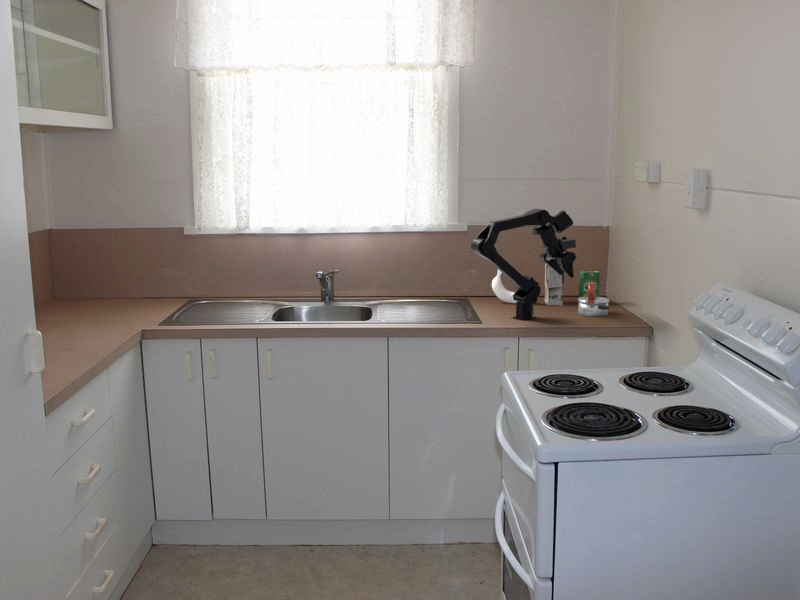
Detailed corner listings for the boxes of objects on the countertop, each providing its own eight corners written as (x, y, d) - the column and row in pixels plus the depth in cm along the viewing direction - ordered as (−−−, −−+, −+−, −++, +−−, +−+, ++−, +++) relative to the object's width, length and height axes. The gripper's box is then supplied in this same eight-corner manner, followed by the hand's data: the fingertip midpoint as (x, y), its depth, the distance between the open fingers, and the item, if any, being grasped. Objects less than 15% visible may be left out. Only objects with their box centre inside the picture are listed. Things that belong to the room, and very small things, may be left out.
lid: (579, 297, 317) (580, 276, 315) (610, 299, 313) (611, 278, 312) (574, 304, 303) (575, 283, 301) (606, 306, 299) (607, 284, 297)
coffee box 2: (595, 302, 333) (596, 270, 331) (599, 303, 331) (600, 271, 328) (578, 303, 331) (579, 271, 328) (581, 304, 328) (583, 272, 326)
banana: (538, 305, 328) (539, 269, 325) (491, 304, 330) (492, 268, 327) (538, 302, 332) (539, 267, 330) (491, 301, 335) (492, 266, 332)
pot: (570, 311, 315) (570, 299, 314) (594, 309, 319) (594, 297, 318) (593, 319, 301) (593, 307, 300) (618, 316, 305) (618, 305, 304)
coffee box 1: (563, 305, 327) (564, 265, 324) (547, 305, 327) (548, 265, 324) (559, 301, 336) (561, 262, 332) (543, 301, 336) (545, 262, 333)
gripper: (579, 230, 292) (596, 268, 297) (556, 227, 310) (572, 262, 314) (554, 246, 291) (571, 283, 295) (532, 241, 308) (549, 277, 313)
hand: (566, 276), depth 304 cm, fingers open, 9 cm apart
